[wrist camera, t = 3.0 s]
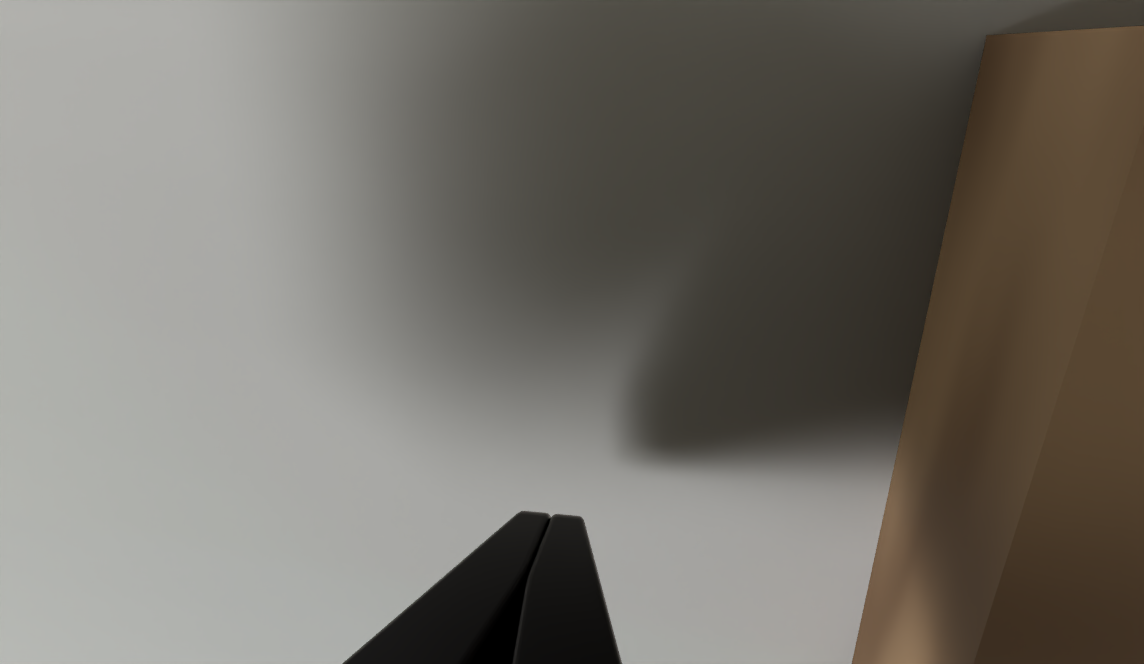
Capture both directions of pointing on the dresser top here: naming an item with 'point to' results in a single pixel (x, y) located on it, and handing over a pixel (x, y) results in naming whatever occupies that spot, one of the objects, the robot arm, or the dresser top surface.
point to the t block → (1028, 379)
